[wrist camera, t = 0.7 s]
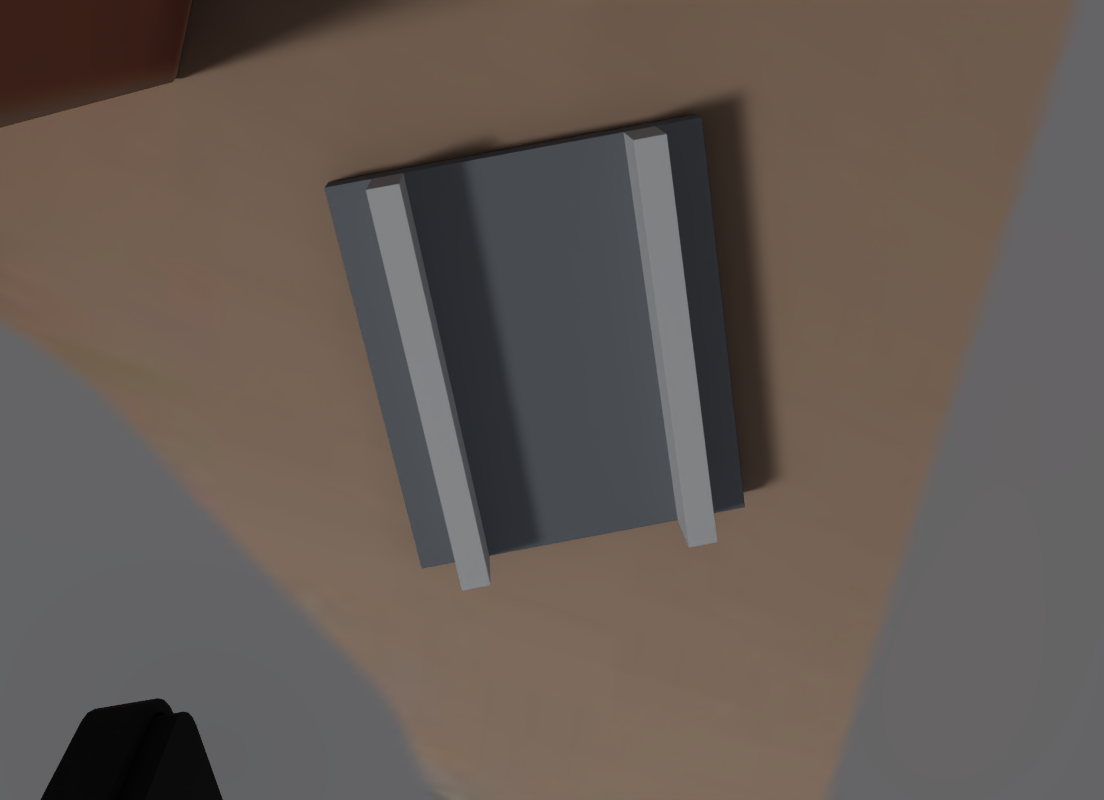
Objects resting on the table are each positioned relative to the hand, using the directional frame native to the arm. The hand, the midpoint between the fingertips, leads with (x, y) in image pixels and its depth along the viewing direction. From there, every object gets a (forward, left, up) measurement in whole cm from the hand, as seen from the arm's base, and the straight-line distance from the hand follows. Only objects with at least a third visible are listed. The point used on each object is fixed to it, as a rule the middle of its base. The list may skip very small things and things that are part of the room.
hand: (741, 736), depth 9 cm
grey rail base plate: (+5, -1, -26) cm, 27 cm away
